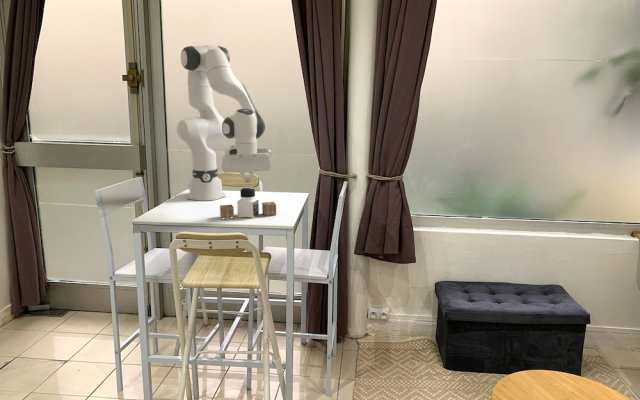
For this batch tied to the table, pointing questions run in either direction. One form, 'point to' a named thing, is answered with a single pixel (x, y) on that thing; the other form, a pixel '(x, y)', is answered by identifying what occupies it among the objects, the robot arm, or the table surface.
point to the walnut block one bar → (226, 211)
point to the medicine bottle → (248, 203)
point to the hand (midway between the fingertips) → (247, 181)
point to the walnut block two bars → (268, 208)
